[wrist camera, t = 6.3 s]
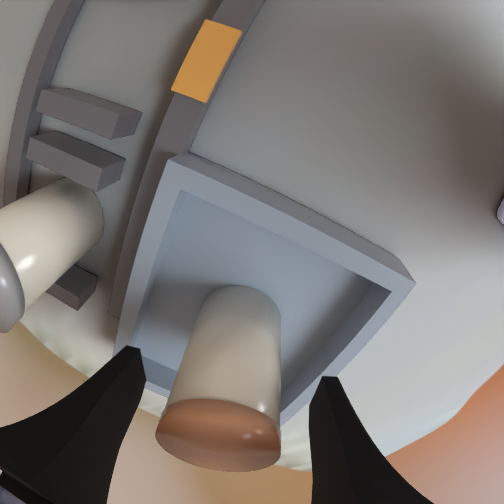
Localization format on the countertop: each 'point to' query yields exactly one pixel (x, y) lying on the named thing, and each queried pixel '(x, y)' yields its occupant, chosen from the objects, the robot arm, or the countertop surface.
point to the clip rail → (113, 129)
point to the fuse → (43, 242)
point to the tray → (254, 276)
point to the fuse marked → (228, 385)
